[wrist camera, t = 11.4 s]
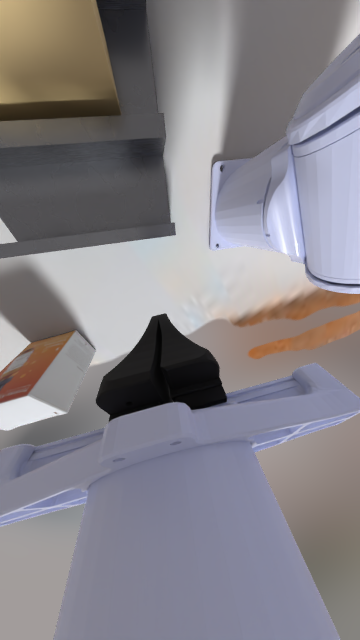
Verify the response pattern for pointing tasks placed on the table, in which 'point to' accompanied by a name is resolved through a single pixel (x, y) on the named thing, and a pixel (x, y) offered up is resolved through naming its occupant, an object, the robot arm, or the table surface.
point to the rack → (91, 158)
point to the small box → (43, 379)
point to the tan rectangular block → (54, 61)
